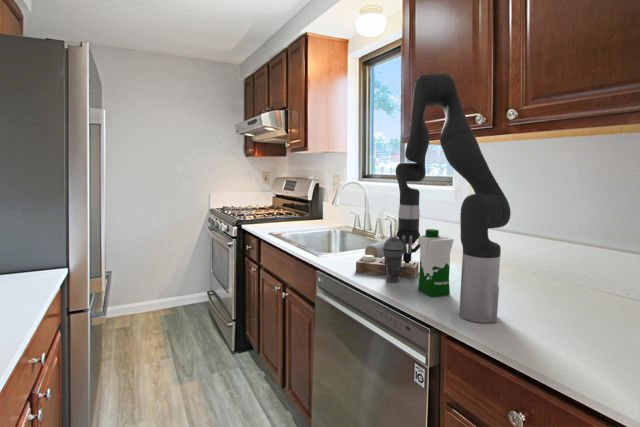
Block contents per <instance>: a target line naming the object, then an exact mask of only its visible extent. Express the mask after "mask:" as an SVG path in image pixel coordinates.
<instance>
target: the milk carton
mask: <svg viewBox="0 0 640 427" xmlns="http://www.w3.org/2000/svg"><path fill="white" fill-rule="evenodd" d="M418 240H419V242H420V248H419V270H418V274H419V275H418V286H417V287H418V288H417V290H418V291H419V292H421V293H422V294H425V295H426V296H428V297H430V298H437V297H445V296H449V295H451V294H450V293H451V292H450V291H451V289H450V270H451V269H450V268H451V267H450V264H451V253H452V248H453V244H454V239H453V238H450V237H447V236H445V235H440V234H439V229H435V228H434V229H433V228H432V229H431V228H429V229H425V235H420V236H419V239H418Z"/></svg>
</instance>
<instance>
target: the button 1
mask: <svg viewBox="0 0 640 427" xmlns="http://www.w3.org/2000/svg"><path fill="white" fill-rule="evenodd" d="M362 257H363V261H366V262H374V256H373V255H365V254H364V255H362Z"/></svg>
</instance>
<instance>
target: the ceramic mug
mask: <svg viewBox="0 0 640 427" xmlns="http://www.w3.org/2000/svg"><path fill="white" fill-rule="evenodd" d="M384 243H385V241H378V242H375V243H372V244H369V245H367V246H366V247H365V249H364V255H373V256H374V258H382V257H384V251H383V247H384Z"/></svg>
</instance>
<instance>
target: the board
mask: <svg viewBox="0 0 640 427" xmlns="http://www.w3.org/2000/svg"><path fill="white" fill-rule="evenodd" d="M402 262H403V259H402ZM410 262H413V266H405V265H401V271H400V278H403V279H410V280H411V279H413V280H415V279H416V277H417V276H418V274H419V271H420V261H416V260H415V261H413V260H411V261H410ZM355 273H360V274H367V275H375V274H376V275H377V276H384V277H386V275H385V263H382V258H374V262H366V261H363V256H362V257H360V258H359V259H358V260H357V261H356V262H355Z"/></svg>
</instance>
